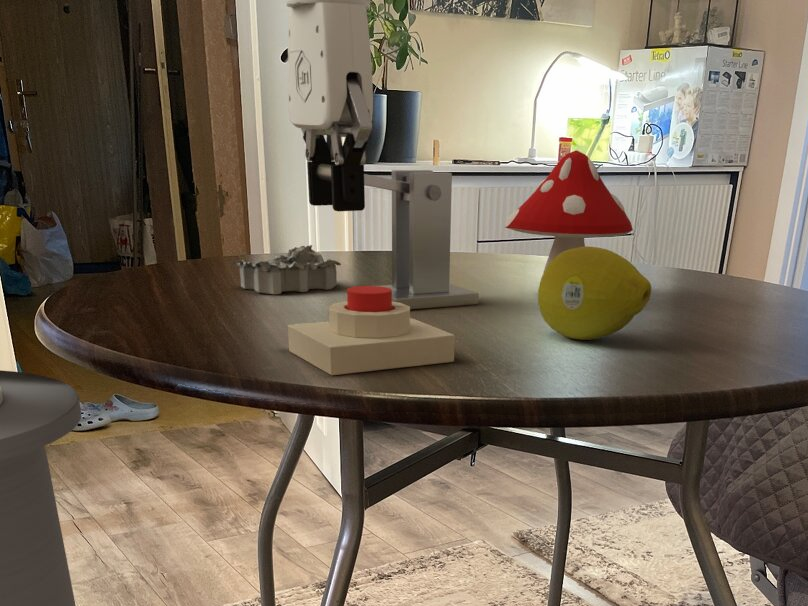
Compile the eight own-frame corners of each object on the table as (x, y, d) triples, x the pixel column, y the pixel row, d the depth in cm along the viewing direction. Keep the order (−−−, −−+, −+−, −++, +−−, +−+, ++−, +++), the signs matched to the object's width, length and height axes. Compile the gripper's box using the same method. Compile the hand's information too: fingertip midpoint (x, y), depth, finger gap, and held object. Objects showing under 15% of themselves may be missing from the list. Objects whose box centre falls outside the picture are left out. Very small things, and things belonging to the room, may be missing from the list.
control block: (331, 375, 70) (329, 322, 68) (288, 351, 77) (285, 302, 75) (454, 362, 75) (455, 312, 73) (404, 340, 82) (404, 293, 80)
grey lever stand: (395, 310, 94) (395, 174, 88) (362, 298, 100) (360, 169, 94) (478, 304, 98) (483, 173, 92) (442, 292, 104) (444, 169, 98)
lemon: (514, 334, 85) (519, 243, 81) (567, 324, 90) (574, 238, 86) (607, 356, 78) (617, 258, 74) (659, 344, 83) (671, 251, 79)
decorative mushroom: (499, 303, 99) (507, 150, 92) (503, 283, 111) (510, 146, 104) (630, 309, 98) (648, 154, 91) (619, 288, 110) (634, 150, 103)
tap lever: (334, 187, 87) (337, 159, 86) (314, 183, 91) (317, 157, 90) (442, 207, 93) (446, 182, 92) (419, 203, 97) (423, 178, 96)
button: (359, 317, 72) (358, 294, 71) (340, 309, 75) (340, 287, 74) (399, 314, 74) (399, 291, 73) (380, 306, 76) (379, 284, 76)
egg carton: (315, 280, 110) (314, 244, 108) (346, 289, 105) (345, 251, 103) (232, 286, 104) (229, 248, 103) (260, 296, 99) (258, 256, 97)
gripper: (255, -7, 86) (270, 201, 95) (326, -25, 74) (336, 218, 82) (329, -2, 90) (336, 199, 98) (409, -18, 77) (410, 215, 86)
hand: (336, 205), depth 90 cm, fingers closed on tap lever, 5 cm apart
